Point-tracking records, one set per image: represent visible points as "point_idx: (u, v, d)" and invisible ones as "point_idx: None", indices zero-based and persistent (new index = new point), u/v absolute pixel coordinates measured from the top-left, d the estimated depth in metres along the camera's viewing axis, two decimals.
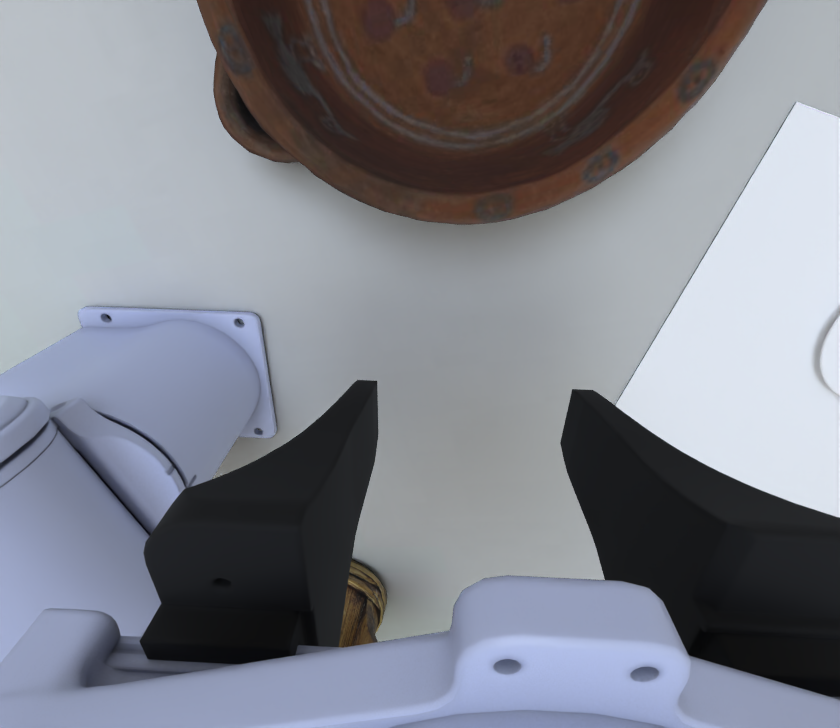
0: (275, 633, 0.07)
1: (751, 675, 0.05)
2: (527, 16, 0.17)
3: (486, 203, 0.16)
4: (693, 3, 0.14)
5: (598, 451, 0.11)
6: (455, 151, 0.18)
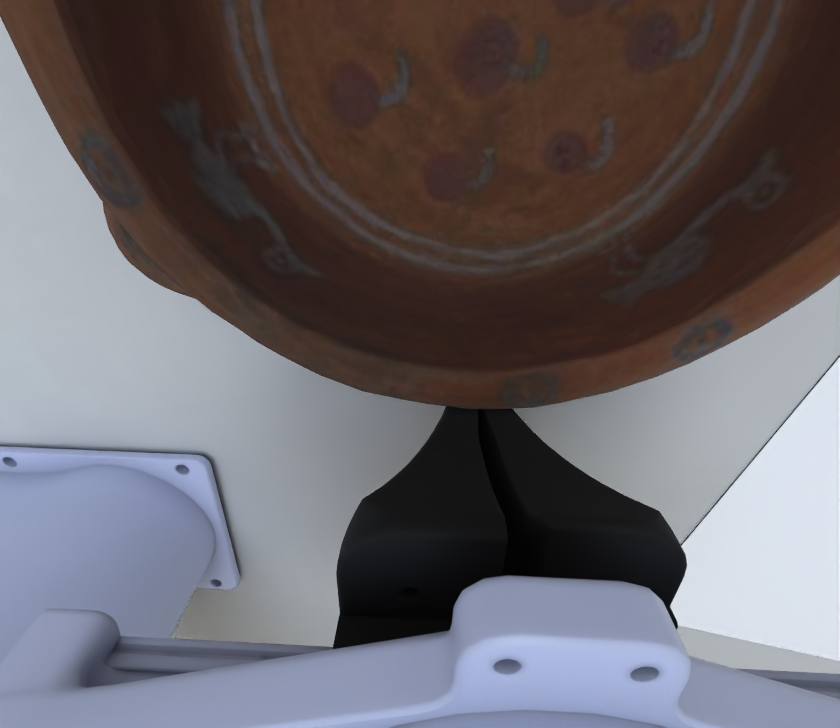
0: None
1: (751, 675, 0.05)
2: (580, 92, 0.11)
3: (518, 385, 0.10)
4: None
5: (484, 446, 0.11)
6: (469, 278, 0.13)
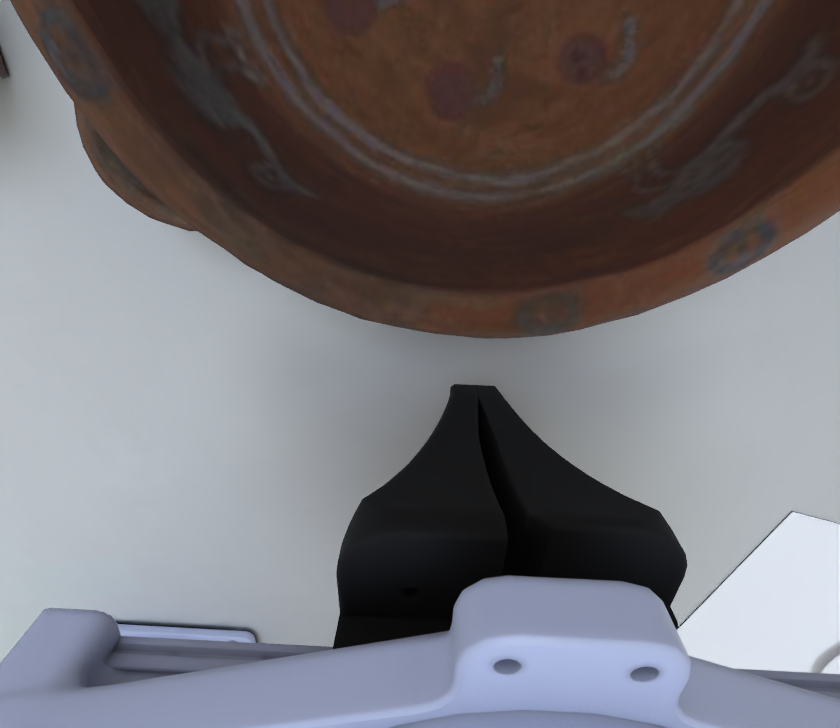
0: None
1: (751, 675, 0.05)
2: None
3: (535, 307, 0.09)
4: None
5: (484, 446, 0.11)
6: (477, 206, 0.12)
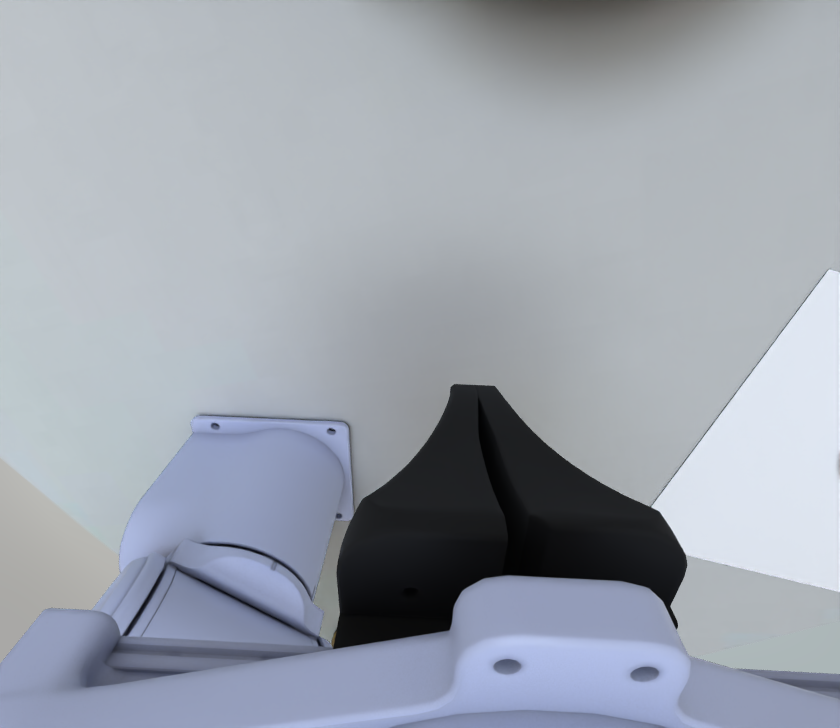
0: None
1: (751, 675, 0.05)
2: None
3: None
4: None
5: (484, 446, 0.11)
6: None
